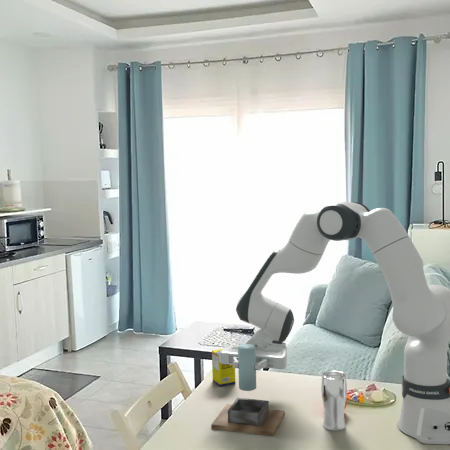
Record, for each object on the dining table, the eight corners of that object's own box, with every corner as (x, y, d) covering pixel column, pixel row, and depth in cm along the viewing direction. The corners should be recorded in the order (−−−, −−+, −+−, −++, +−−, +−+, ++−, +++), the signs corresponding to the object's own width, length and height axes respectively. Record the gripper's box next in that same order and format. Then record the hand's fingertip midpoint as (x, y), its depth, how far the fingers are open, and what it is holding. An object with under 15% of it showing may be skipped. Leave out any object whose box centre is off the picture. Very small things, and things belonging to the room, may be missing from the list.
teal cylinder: (258, 384, 168) (257, 344, 166) (253, 391, 163) (253, 350, 162) (241, 383, 169) (240, 343, 168) (236, 389, 165) (235, 349, 163)
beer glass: (347, 432, 159) (346, 379, 157) (321, 431, 160) (320, 378, 158) (346, 421, 165) (346, 370, 164) (322, 419, 167) (321, 369, 165)
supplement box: (235, 383, 195) (235, 352, 194) (219, 387, 193) (218, 355, 192) (228, 377, 201) (227, 347, 200) (212, 381, 198) (211, 350, 197)
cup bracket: (284, 414, 171) (284, 399, 171) (273, 436, 158) (273, 419, 157) (226, 407, 177) (226, 393, 176) (211, 428, 164) (210, 412, 163)
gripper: (226, 338, 181) (211, 352, 168) (291, 343, 174) (281, 358, 161) (226, 357, 181) (212, 373, 168) (291, 363, 175) (281, 380, 162)
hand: (246, 366), depth 165 cm, fingers closed on teal cylinder, 5 cm apart
